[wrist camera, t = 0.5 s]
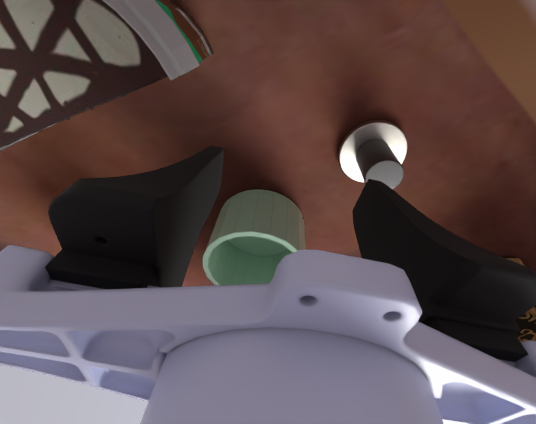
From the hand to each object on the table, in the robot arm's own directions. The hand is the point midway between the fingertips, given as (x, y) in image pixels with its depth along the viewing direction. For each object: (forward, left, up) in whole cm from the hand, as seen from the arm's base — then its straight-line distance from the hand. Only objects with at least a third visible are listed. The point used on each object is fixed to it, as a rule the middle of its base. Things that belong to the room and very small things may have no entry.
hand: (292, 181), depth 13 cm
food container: (+8, +10, -10) cm, 16 cm away
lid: (-3, -6, -9) cm, 12 cm away
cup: (-10, +4, -9) cm, 15 cm away
